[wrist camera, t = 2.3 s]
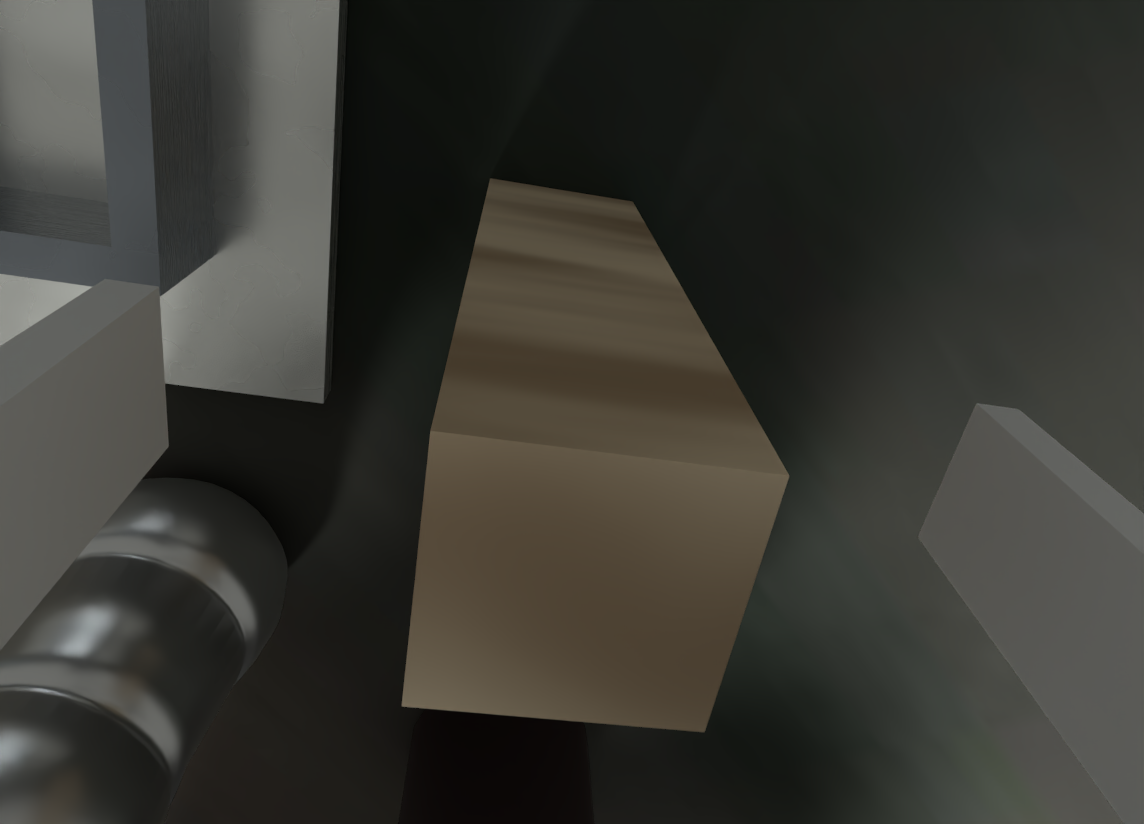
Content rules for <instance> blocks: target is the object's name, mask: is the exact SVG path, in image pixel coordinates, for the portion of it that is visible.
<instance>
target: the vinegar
mask: <svg viewBox="0 0 1144 824" xmlns="http://www.w3.org/2000/svg"><path fill="white" fill-rule="evenodd" d="M398 824H594V815H593V803H592V790H591V778H590V766H589V754H588V744H587V737H586V731H585V726H584V723H583V722H578V721H566V720H554V719H542V718H531V717H519V716H507V715H495V714H484V713H472V712H460V711H449V710H437V709H425V710H424V712H423V713H422V715H421V717H420V718H419V720H418V721H417V723H416V725H415V727H414V729H413V735H412V741H411V748H410V754H409V760H408V766H407V772H406V779H405V785H404V791H403V797H402V804H401V810H400V816H399V822H398Z"/></svg>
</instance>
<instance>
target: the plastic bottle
mask: <svg viewBox="0 0 1144 824" xmlns="http://www.w3.org/2000/svg"><path fill="white" fill-rule="evenodd" d="M287 578H288V570H287V560H286V556H285V553H284V550H283V547H282V545H281V543H280V541H279V539H278V537H277V536H276V534H275V532H274V530H273V529H272V528H271V526H270V525H269V523H268V522H267V521H266V519H265V518H264V517H263V516H262V515H261V514H260V512H259V511H258V510H257V509H256V508H254V507H253V506H252V505H251V504H250V503H248V502H247V501H246V500H245V499H243V498H241V497H240V496H238V495H236V494H235V493H233V492H231V491H230V490H227V489H225V488H222V487H220V486H217V485H215V484H212V483H208V482H204V481H200V480H195V479H184V478H167V477H166V478H152V479H143V480H141V481H140V482H139V483H138V484H137V486H136V487H135V488H134V489H133V490H132V492H131V493H130V494H129V495H128V496H127V498H126V499H125V500H124V501H123V503H122V504H121V505H120V506H119V507H118V509H117V510H116V511H115V512H114V513H113V515H112V516H111V517H110V518H109V519H108V521H107V522H106V523H105V524H104V526H103V527H102V528H101V529H100V530H99V532H98V533H97V534H96V535H95V536H94V538H93V539H92V540H91V541H90V542H89V544H88V545H87V546H86V547H85V549H84V550H83V551H82V552H81V553H80V555H79V556H78V557H77V558H76V559H75V561H74V562H73V563H72V564H71V565H70V567H69V568H68V569H67V570H66V572H65V573H64V574H63V575H62V576H61V578H60V579H59V580H58V581H57V582H56V584H55V585H54V586H53V587H52V588H51V590H50V591H49V592H48V593H47V595H46V596H45V597H44V598H43V599H42V601H41V602H40V603H39V604H38V605H37V607H36V608H35V609H34V610H33V611H32V613H31V614H30V615H29V616H28V618H27V619H26V620H25V621H24V622H23V624H22V625H21V626H20V627H19V628H18V630H17V631H16V632H15V633H14V635H13V636H12V637H11V638H10V639H9V641H8V642H7V643H6V644H5V645H4V647H3V648H2V649H1V650H0V824H164V822H165V819H166V817H167V814H168V810H169V806H170V804H171V802H172V800H173V798H174V796H175V794H176V792H177V789H178V787H179V784H180V782H181V779H182V777H183V774H184V772H185V769H186V767H187V765H188V763H189V761H190V760H191V758H192V756H193V754H194V753H195V751H196V749H197V748H198V746H199V744H200V742H201V741H202V739H203V737H204V736H205V734H206V732H207V731H208V729H209V727H210V725H211V724H212V722H213V720H214V719H215V717H216V715H217V713H218V712H219V710H220V708H221V707H222V705H223V703H224V701H225V700H226V698H227V696H228V695H229V693H230V691H231V690H232V688H233V686H234V685H235V684H236V683H237V682H238V681H239V679H240V678H241V677H242V676H243V675H244V674H245V672H246V671H247V670H248V669H249V668H250V666H251V665H252V664H253V663H254V662H255V660H256V659H257V657H258V656H259V654H260V652H261V651H262V649H263V648H264V646H265V645H266V643H267V642H268V640H269V639H270V637H271V636H272V634H273V632H274V630H275V628H276V626H277V624H278V622H279V621H280V617H281V612H282V607H283V602H284V596H285V590H286V584H287Z"/></svg>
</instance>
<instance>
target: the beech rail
mask: <svg viewBox="0 0 1144 824" xmlns="http://www.w3.org/2000/svg"><path fill="white" fill-rule="evenodd" d="M788 479H789V474H788V472H787V471H786V469H785V467H784V465H783V464H782V462H781V460H780V458H779V457H778V455H777V453H776V451H775V450H774V448H773V446H772V444H771V443H770V441H769V439H768V437H767V436H766V434H765V432H764V430H763V429H762V427H761V425H760V423H759V422H758V420H757V418H756V416H755V415H754V413H753V411H752V409H751V408H750V406H749V404H748V402H747V401H746V399H745V397H744V395H743V394H742V392H741V390H740V388H739V387H738V385H737V383H736V381H735V380H734V378H733V376H732V374H731V373H730V371H729V369H728V367H727V366H726V364H725V362H724V360H723V359H722V357H721V355H720V353H719V352H718V350H717V348H716V346H715V345H714V343H713V341H712V339H711V338H710V336H709V334H708V332H707V331H706V329H705V327H704V325H703V324H702V322H701V320H700V318H699V317H698V315H697V313H696V311H695V310H694V308H693V306H692V304H691V303H690V301H689V299H688V297H687V296H686V294H685V292H684V290H683V289H682V287H681V285H680V283H679V282H678V280H677V278H676V276H675V275H674V273H673V271H672V269H671V268H670V266H669V264H668V262H667V261H666V259H665V257H664V255H663V254H662V252H661V250H660V248H659V247H658V245H657V243H656V241H655V240H654V238H653V236H652V234H651V233H650V231H649V229H648V227H647V226H646V224H645V222H644V220H643V219H642V217H641V215H640V213H639V212H638V210H637V208H636V206H635V205H634V203H633V202H632V201H626V200H620V199H614V198H608V197H602V196H595V195H589V194H583V193H577V192H571V191H565V190H559V189H553V188H547V187H540V186H534V185H528V184H522V183H516V182H510V181H504V180H498V179H492V178H490V181H489V186H488V190H487V194H486V198H485V202H484V207H483V211H482V215H481V219H480V224H479V228H478V232H477V236H476V240H475V245H474V249H473V253H472V257H471V262H470V266H469V270H468V274H467V278H466V283H465V287H464V291H463V295H462V300H461V304H460V308H459V312H458V316H457V321H456V325H455V329H454V333H453V338H452V342H451V346H450V350H449V354H448V359H447V363H446V367H445V371H444V376H443V380H442V384H441V388H440V393H439V397H438V401H437V405H436V409H435V414H434V418H433V422H432V426H431V431H430V440H429V449H428V459H427V469H426V478H425V488H424V497H423V507H422V516H421V526H420V535H419V545H418V554H417V564H416V573H415V583H414V593H413V602H412V612H411V621H410V631H409V640H408V650H407V659H406V669H405V678H404V688H403V698H402V707H413V708H425V709H437V710H449V711H460V712H472V713H484V714H495V715H507V716H519V717H531V718H542V719H554V720H566V721H578V722H589V723H601V724H613V725H624V726H636V727H648V728H660V729H671V730H683V731H695V732H705V729H706V726H707V723H708V720H709V717H710V714H711V711H712V708H713V705H714V702H715V699H716V696H717V693H718V690H719V687H720V684H721V681H722V678H723V675H724V672H725V669H726V666H727V663H728V660H729V657H730V654H731V651H732V648H733V645H734V642H735V639H736V636H737V633H738V630H739V627H740V624H741V621H742V618H743V615H744V612H745V609H746V606H747V603H748V599H749V596H750V593H751V590H752V587H753V584H754V581H755V578H756V575H757V572H758V569H759V566H760V563H761V560H762V557H763V554H764V551H765V548H766V545H767V542H768V539H769V536H770V533H771V530H772V527H773V524H774V521H775V518H776V515H777V512H778V509H779V506H780V503H781V500H782V497H783V494H784V491H785V488H786V485H787V482H788Z"/></svg>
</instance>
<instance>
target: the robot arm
mask: <svg viewBox="0 0 1144 824" xmlns="http://www.w3.org/2000/svg"><path fill="white" fill-rule="evenodd" d="M168 447H169V440H168V424H167V408H166V391H165V375H164V359H163V342H162V326H161V310H160V294H159V287H158V286H151V285H144V284H137V283H130V282H123V281H116V280H109V279H104V280H103V281H101V282H100V283H98V284H96V285H95V286H93V287H92V288H90V289H89V290H87V291H85V292H84V293H82V294H81V295H79V296H78V297H76V298H75V299H73V300H71V301H70V302H68V303H67V304H65V305H64V306H62V307H60V308H59V309H57V310H56V311H54V312H53V313H51V314H50V315H48V316H46V317H45V318H43V319H42V320H40V321H39V322H37V323H35V324H34V325H32V326H31V327H29V328H28V329H26V330H25V331H23V332H21V333H20V334H18V335H17V336H15V337H14V338H12V339H10V340H9V341H7V342H6V343H4V344H3V345H1V346H0V650H1V649H2V648H3V647H4V645H5V644H6V643H7V642H8V641H9V639H10V638H11V637H12V636H13V635H14V633H15V632H16V631H17V630H18V628H19V627H20V626H21V625H22V624H23V622H24V621H25V620H26V619H27V618H28V616H29V615H30V614H31V613H32V611H33V610H34V609H35V608H36V607H37V605H38V604H39V603H40V602H41V601H42V599H43V598H44V597H45V596H46V595H47V593H48V592H49V591H50V590H51V588H52V587H53V586H54V585H55V584H56V582H57V581H58V580H59V579H60V578H61V576H62V575H63V574H64V573H65V572H66V570H67V569H68V568H69V567H70V565H71V564H72V563H73V562H74V561H75V559H76V558H77V557H78V556H79V555H80V553H81V552H82V551H83V550H84V549H85V547H86V546H87V545H88V544H89V542H90V541H91V540H92V539H93V538H94V536H95V535H96V534H97V533H98V532H99V530H100V529H101V528H102V527H103V526H104V524H105V523H106V522H107V521H108V519H109V518H110V517H111V516H112V515H113V513H114V512H115V511H116V510H117V509H118V507H119V506H120V505H121V504H122V503H123V501H124V500H125V499H126V498H127V496H128V495H129V494H130V493H131V492H132V490H133V489H134V488H135V487H136V486H137V484H138V483H139V482H140V481H141V480H142V478H143V477H144V476H145V475H146V473H147V472H148V471H149V470H150V469H151V467H152V466H153V465H154V464H155V463H156V461H157V460H158V459H159V458H160V457H161V455H162V454H163V453H164V452H165V450H166V449H167V448H168ZM918 538H919V540H920V541H921V543H922V544H923V545H924V547H925V548H926V550H927V551H928V552H929V554H930V555H931V556H932V558H933V559H934V561H935V562H936V563H937V565H938V566H939V568H940V569H941V570H942V572H943V573H944V574H945V576H946V577H947V579H948V580H949V581H950V583H951V584H952V586H953V587H954V588H955V590H956V591H957V593H958V594H959V595H960V597H961V598H962V599H963V601H964V602H965V604H966V605H967V606H968V608H969V609H970V611H971V612H972V613H973V615H974V616H975V618H976V619H977V620H978V622H979V623H980V624H981V626H982V627H983V629H984V630H985V631H986V633H987V634H988V636H989V637H990V638H991V640H992V641H993V643H994V644H995V645H996V647H997V648H998V649H999V651H1000V652H1001V654H1002V655H1003V656H1004V658H1005V659H1006V661H1007V662H1008V663H1009V665H1010V666H1011V667H1012V669H1013V670H1014V672H1015V673H1016V674H1017V676H1018V677H1019V679H1020V680H1021V681H1022V683H1023V684H1024V686H1025V687H1026V688H1027V690H1028V691H1029V692H1030V694H1031V695H1032V697H1033V698H1034V699H1035V701H1036V702H1037V704H1038V705H1039V706H1040V708H1041V709H1042V711H1043V712H1044V713H1045V715H1046V716H1047V717H1048V719H1049V720H1050V722H1051V723H1052V724H1053V726H1054V727H1055V729H1056V730H1057V731H1058V733H1059V734H1060V735H1061V737H1062V738H1063V740H1064V741H1065V742H1066V744H1067V745H1068V747H1069V748H1070V749H1071V751H1072V752H1073V754H1074V755H1075V756H1076V758H1077V759H1078V760H1079V762H1080V763H1081V765H1082V766H1083V767H1084V769H1085V770H1086V772H1087V773H1088V774H1089V776H1090V777H1091V779H1092V780H1093V781H1094V783H1095V784H1096V785H1097V787H1098V788H1099V790H1100V791H1101V792H1102V794H1103V795H1104V797H1105V798H1106V799H1107V801H1108V802H1109V804H1110V805H1111V806H1112V808H1113V809H1114V810H1115V812H1116V813H1117V815H1118V816H1119V817H1120V819H1121V820H1122V822H1123V823H1124V824H1144V514H1143V513H1142V512H1141V511H1140V510H1139V509H1137V508H1136V507H1135V506H1134V505H1133V504H1131V503H1130V502H1129V501H1128V500H1127V499H1125V498H1124V497H1123V496H1122V495H1121V494H1119V493H1118V492H1117V491H1116V490H1115V489H1113V488H1112V487H1111V486H1110V485H1109V484H1108V483H1106V482H1105V481H1104V480H1103V479H1102V478H1100V477H1099V476H1098V475H1097V474H1096V473H1094V472H1093V471H1092V470H1091V469H1090V468H1088V467H1087V466H1086V465H1085V464H1084V463H1082V462H1081V461H1080V460H1079V459H1078V458H1076V457H1075V456H1074V455H1073V454H1072V453H1070V452H1069V451H1068V450H1067V449H1066V448H1064V447H1063V446H1062V445H1061V444H1060V443H1058V442H1057V441H1056V440H1055V439H1054V438H1052V437H1051V436H1050V435H1049V434H1048V433H1046V432H1045V431H1044V430H1043V429H1042V428H1040V427H1039V426H1038V425H1037V424H1036V423H1034V422H1033V421H1032V420H1031V419H1030V418H1028V417H1027V416H1026V415H1025V414H1024V413H1022V412H1021V411H1020V410H1019V409H1014V408H1007V407H1000V406H993V405H986V404H979V403H976V405H975V407H974V410H973V412H972V414H971V416H970V419H969V421H968V423H967V426H966V428H965V430H964V432H963V435H962V437H961V439H960V442H959V444H958V446H957V448H956V451H955V453H954V455H953V457H952V460H951V462H950V464H949V467H948V469H947V471H946V473H945V476H944V478H943V480H942V482H941V485H940V487H939V489H938V492H937V494H936V496H935V498H934V501H933V503H932V505H931V508H930V510H929V512H928V514H927V517H926V519H925V521H924V523H923V526H922V528H921V530H920V533H919V535H918Z"/></svg>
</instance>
